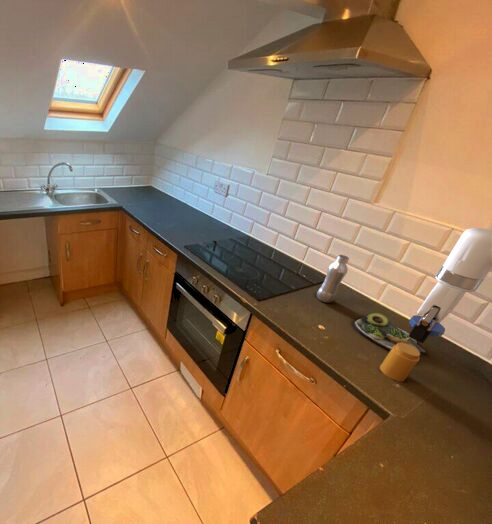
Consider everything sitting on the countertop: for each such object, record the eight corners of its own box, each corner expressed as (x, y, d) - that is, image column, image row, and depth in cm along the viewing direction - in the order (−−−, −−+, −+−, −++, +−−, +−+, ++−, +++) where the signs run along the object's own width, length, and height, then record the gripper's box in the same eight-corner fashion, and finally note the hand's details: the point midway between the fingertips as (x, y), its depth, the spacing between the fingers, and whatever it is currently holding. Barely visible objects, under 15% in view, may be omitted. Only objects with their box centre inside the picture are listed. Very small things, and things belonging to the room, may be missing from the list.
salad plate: (432, 348, 102) (439, 338, 99) (408, 365, 93) (416, 354, 91) (371, 315, 116) (377, 305, 114) (346, 327, 108) (352, 317, 105)
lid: (412, 330, 78) (416, 325, 78) (405, 316, 84) (408, 312, 83) (446, 340, 76) (450, 335, 75) (436, 325, 82) (440, 320, 81)
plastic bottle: (335, 302, 122) (356, 258, 113) (327, 306, 119) (348, 262, 109) (320, 294, 127) (339, 251, 117) (311, 298, 123) (331, 254, 114)
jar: (400, 372, 90) (418, 346, 85) (406, 387, 85) (426, 360, 80) (376, 364, 92) (392, 338, 87) (380, 378, 87) (398, 351, 82)
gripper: (448, 264, 80) (414, 317, 88) (427, 279, 71) (392, 337, 79) (486, 277, 75) (447, 332, 83) (470, 295, 66) (427, 355, 74)
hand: (420, 334), depth 81 cm, fingers closed on lid, 6 cm apart
